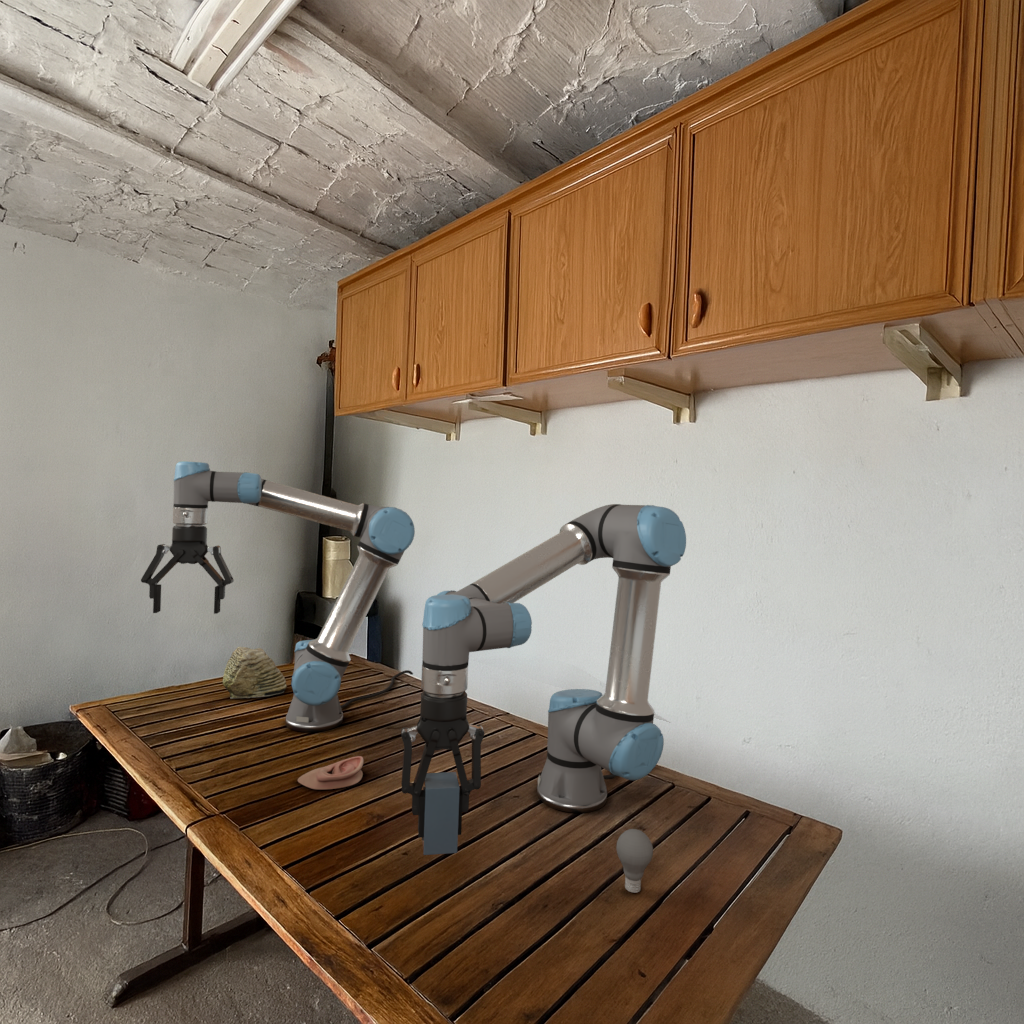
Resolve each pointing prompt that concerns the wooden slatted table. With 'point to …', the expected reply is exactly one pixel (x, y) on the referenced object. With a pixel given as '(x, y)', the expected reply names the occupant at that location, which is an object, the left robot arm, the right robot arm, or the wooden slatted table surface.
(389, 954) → the wooden slatted table surface
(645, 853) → the light bulb
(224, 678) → the fossil
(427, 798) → the brick
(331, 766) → the anatomical model
